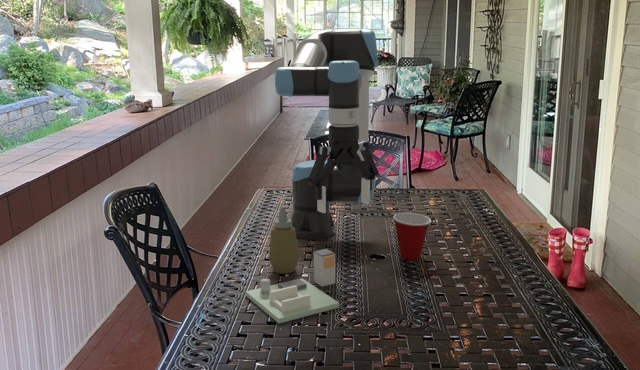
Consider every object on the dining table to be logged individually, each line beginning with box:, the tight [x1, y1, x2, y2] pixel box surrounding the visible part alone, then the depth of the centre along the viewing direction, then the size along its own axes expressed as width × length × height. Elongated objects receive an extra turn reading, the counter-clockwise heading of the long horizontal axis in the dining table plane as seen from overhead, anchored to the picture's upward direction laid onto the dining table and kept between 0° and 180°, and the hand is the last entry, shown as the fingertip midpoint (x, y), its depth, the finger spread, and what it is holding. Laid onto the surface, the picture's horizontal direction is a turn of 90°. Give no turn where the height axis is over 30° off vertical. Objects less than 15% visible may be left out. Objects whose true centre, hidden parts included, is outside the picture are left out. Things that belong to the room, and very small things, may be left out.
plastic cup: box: [392, 212, 432, 261], centre depth 183 cm, size 11×11×12 cm
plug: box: [313, 248, 336, 287], centre depth 166 cm, size 5×4×8 cm
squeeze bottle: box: [268, 206, 300, 275], centre depth 173 cm, size 8×8×18 cm
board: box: [245, 277, 340, 324], centre depth 155 cm, size 18×16×4 cm
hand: (344, 207), depth 163 cm, fingers open, 13 cm apart
